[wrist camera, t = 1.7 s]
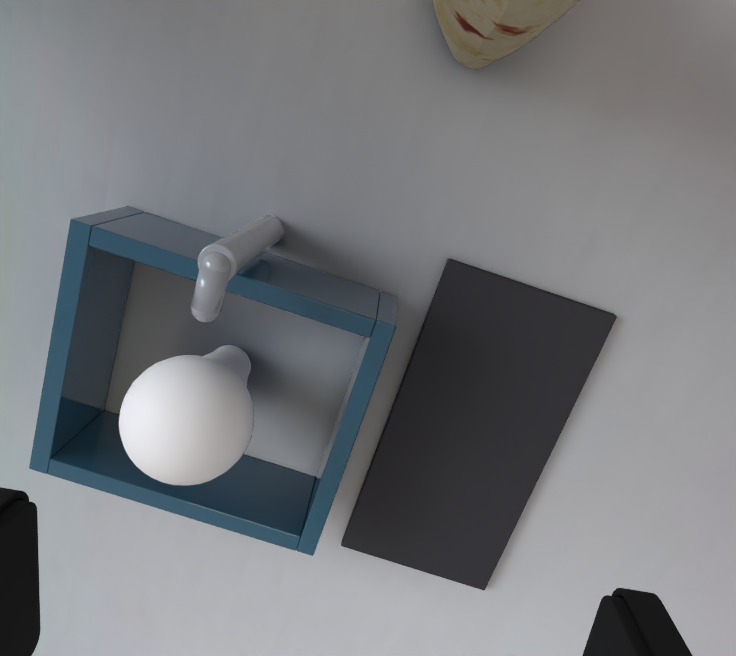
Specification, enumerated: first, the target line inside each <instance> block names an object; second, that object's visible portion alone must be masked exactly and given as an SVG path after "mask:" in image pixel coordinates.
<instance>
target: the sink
mask: <svg viewBox="0 0 736 656" xmlns="http://www.w3.org/2000/svg"><path fill="white" fill-rule="evenodd" d="M283 232H284V228H283V225H282V223H281V221H280V220H279V219H278V218H276V217H274V216H271V215H266V216H263V217H261V218H259V219H257V220H255V221H253V222H252V223H250V224H248V225H246V226H244V227H242V228H240V229H238V230H236V231H235V232H233V233H231V234H229V235H227V236H225V237H223V238H221V237H218V236H215V235H212V234H209V233H206V232H203V231H200V230H197V229H194V228H191V227H188V226H185V225H182V224H179V223H176V222H173V221H170V220H167V219H164V218H161V217H158V216H155V215H152V214H149V213H146V212H144V211H141V210H138V209H135V208H132V207H129V206H127V207H122V208H118V209H113V210H109V211H105V212H100V213H96V214H91V215H87V216H83V217H78V218H74V219H71V221H70V227H69V233H68V239H67V245H66V251H65V257H64V263H63V269H62V275H61V281H60V287H59V293H58V299H57V305H56V311H55V317H54V323H53V329H52V335H51V341H50V347H49V353H48V359H47V365H46V371H45V377H44V383H43V389H42V395H41V401H40V407H39V413H38V419H37V425H36V431H35V437H34V443H33V449H32V455H31V461H30V467H29V468H30V469H32V470H36V471H39V472H42V473H45V474H47V473H48V474H49V475H52V476H56V477H59V478H62V479H65V480H68V481H72V482H75V483H78V484H81V485H85V486H88V487H91V488H94V489H98V490H101V491H104V492H107V493H111V494H114V495H117V496H120V497H123V498H127V499H130V500H133V501H136V502H140V503H143V504H146V505H149V506H153V507H156V508H159V509H162V510H165V511H169V512H172V513H175V514H178V515H182V516H185V517H188V518H191V519H195V520H198V521H201V522H204V523H207V524H211V525H214V526H217V527H220V528H224V529H227V530H230V531H233V532H237V533H240V534H243V535H246V536H250V537H253V538H256V539H259V540H262V541H266V542H269V543H272V544H275V545H279V546H282V547H285V548H288V549H292V550H296V549H297V551H299V552H302V553H305V554H308V555H312V556H313V555H314V552H315V550H316V547H317V544H318V541H319V539H320V536H321V533H322V530H323V527H324V525H325V522H326V519H327V516H328V514H329V511H330V508H331V505H332V503H333V500H334V497H335V494H336V492H337V489H338V486H339V483H340V481H341V478H342V475H343V472H344V469H345V467H346V464H347V461H348V458H349V456H350V453H351V450H352V447H353V445H354V442H355V439H356V436H357V434H358V431H359V428H360V425H361V422H362V420H363V417H364V414H365V411H366V409H367V406H368V403H369V400H370V398H371V395H372V392H373V389H374V387H375V384H376V381H377V378H378V376H379V373H380V370H381V367H382V364H383V362H384V359H385V356H386V353H387V351H388V348H389V345H390V342H391V340H392V337H393V334H394V331H395V329H396V296H395V295H392V294H389V293H386V292H383V291H379V290H377V289H374V288H371V287H368V286H365V285H362V284H359V283H356V282H353V281H350V280H347V279H344V278H341V277H338V276H335V275H332V274H329V273H326V272H323V271H320V270H317V269H314V268H311V267H308V266H305V265H302V264H299V263H296V262H293V261H290V260H287V259H284V258H281V257H278V256H275V255H272V254H269V253H266V251H267V250H268V249H269V248H271V247H272V246H273V245H274V244H276V243H277V242H278V241H279V240H280V239H281V238H282V236H283ZM134 261H137V262H140V263H143V264H146V265H149V266H152V267H155V268H158V269H161V270H164V271H167V272H170V273H173V274H176V275H179V276H182V277H185V278H188V279H191V280H195V281H196V285H195V289H194V293H193V297H192V302H191V307H190V308H191V313H192V315H193V316H194V317H195V318H196V319H197V320H198V321H201V322H211V321H213V320H215V319H216V318H217V317H218V316H219V314H220V311H221V307H222V304H223V300H224V296H225V292H226V291H228V292H231V293H234V294H237V295H240V296H243V297H246V298H249V299H252V300H255V301H258V302H261V303H264V304H267V305H270V306H274V307H277V308H280V309H283V310H286V311H289V312H292V313H295V314H298V315H301V316H304V317H307V318H310V319H313V320H316V321H319V322H322V323H325V324H328V325H331V326H334V327H337V328H340V329H343V330H346V331H349V332H353V333H356V334H359V335H362V336H365V337H364V340H363V342H362V345H361V348H360V351H359V354H358V357H357V360H356V363H355V366H354V368H353V371H352V374H351V377H350V380H349V383H348V386H347V389H346V392H345V394H344V397H343V400H342V403H341V406H340V409H339V412H338V415H337V418H336V420H335V423H334V426H333V429H332V432H331V435H330V438H329V441H328V444H327V447H326V449H325V452H324V455H323V458H322V461H321V464H320V467H319V470H318V473H317V475H316V478H315V477H313V476H310V475H306V474H303V473H300V472H297V471H294V470H291V469H287V468H284V467H281V466H278V465H275V464H272V463H268V462H265V461H262V460H259V459H256V458H253V457H249V456H246V455H242V456H241V457H240V459H239V460H238V461H237V462H236V463H235V464H234V465H233V466H232V467H231V468H230V469H228V470H227V471H226V472H225V473H223V474H221V475H220V476H218V477H216V478H214V479H212V480H210V481H208V482H204V483H201V484H196V485H185V486H183V485H171V484H167V483H163V482H160V481H158V480H156V479H153V478H151V477H150V476H148V475H147V474H145V473H144V472H142V471H141V470H140V469H139V468H138V467H137V466H136V465H135V464H134V463H133V462H132V460H131V459H130V458H129V456H128V454H127V452H126V451H125V449H124V446H123V443H122V440H121V437H120V431H119V417H120V415H117V414H113V413H110V412H107V411H104V406H105V401H106V396H107V391H108V387H109V382H110V377H111V372H112V367H113V362H114V357H115V352H116V348H117V343H118V338H119V333H120V328H121V323H122V318H123V314H124V309H125V304H126V299H127V294H128V289H129V284H130V279H131V275H132V270H133V265H134Z"/></svg>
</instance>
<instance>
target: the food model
mask: <svg viewBox="0 0 736 656" xmlns="http://www.w3.org/2000/svg"><path fill="white" fill-rule="evenodd" d="M578 1H580V0H433V4H434V8H435V11H436V15H437V19H438V22H439V25H440V27H441V29H442V32H443V34H444V36H445V39H446V42H447V44H448V46H449V48H450V50H451V52H452V54H453V56H454V58H455V59H456V60H457V61H458V62H460V63H461V64H462V65H464V66H465V67H468V68H473V69H479V68H482V67H484V66H486V65H489V64H491V63H492V62H494V61H496V60H497V59H499V58H502V57H505V56H507V55H509V54H511V53H512V52H514V51H516V50H517V49H519V48H520V47H522V46H524V45H525V44H527V43H528V42H530V41H531V40H532V39H534V38H535V37H536V36H537V35H539V34H540V33H541V32H542V31H543V30H545V29H546V28H547V27H548V26H550V25H551V24H552V23H554V22H555V21H556V20H557V19H559V18H560V17H561V16H562V15H564V14H565V13H566V12H567V11H568V10H570V9H571V8H572V7H573V6H574V5H575V4H576V3H577V2H578Z"/></svg>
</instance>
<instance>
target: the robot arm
mask: <svg viewBox="0 0 736 656" xmlns="http://www.w3.org/2000/svg"><path fill="white" fill-rule="evenodd" d="M39 635H40V602H39V564H38V527H37V507H36V505H35V503H33V502H29V498H28V495H27V494H26V493H25V492H23V491H18V490H12V489H6V488H0V656H31V655H32V654H33V652H34V650H35V648H36V645H37V643H38V640H39ZM583 656H692V654H691V653H690V651H689V649H688V647H687V646H686V644H685V642H684V640H683V639H682V637H681V635H680V633H679V632H678V630H677V628H676V626H675V625H674V623H673V621H672V619H671V618H670V616H669V614H668V612H667V611H666V609H665V607H664V605H663V604H662V602H661V600H660V599H659V598H658V596H657V595H655V594H653V593H648V592H642V591H636V590H630V589H624V588H617V589H616V590H615V591H614V592H613V594H612V596H608V595H607V596H604V597H603V598H602V600H601V602H600V605H599V608H598V611H597V614H596V617H595V620H594V623H593V626H592V629H591V632H590V635H589V638H588V641H587V644H586V647H585V650H584V653H583Z"/></svg>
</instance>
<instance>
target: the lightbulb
mask: <svg viewBox="0 0 736 656" xmlns="http://www.w3.org/2000/svg"><path fill="white" fill-rule="evenodd" d="M250 371H251V362H250V359H249V357H248V355H247V354H246V353H245V352H244V351H243V350H242V349H240V348H238V347H236V346H232V345H225V346H221V347H219V348H217V349H216V350H215V351H213V352H212V353H209V354H206V355H204V356H198V355H181V356H174V357H171V358H168V359H166V360H163V361H160V362H157V363H155V364H154V365H152V366H151V367H149V368H147V369H146V370H145V371H144V372H143V373H142V374H141V375H140V376H139V377H138V378H137V379H136V380H135V381H134V382H133V383H132V385H131V386H130V388H129V390H128V391H127V393H126V395H125V397H124V400H123V403H122V406H121V410H120V417H119V431H120V437H121V440H122V443H123V446H124V449H125V451H126V452H127V454H128V456H129V458H130V459H131V460H132V462H133V463H134V464H135V465H136V466H137V467H138V468H139V469H140V470H141V471H142V472H144V473H145V474H147V475H148V476H150V477H151V478H153V479H156V480H158V481H160V482H163V483H167V484H171V485H183V486H185V485H196V484H201V483H204V482H208V481H210V480H212V479H214V478H216V477H218V476H220V475H221V474H223V473H225V472H226V471H227V470H228V469H230V468H231V467H232V466H233V465H234V464H235V463H236V462H237V461H238V460H239V459H240V457H241V456H242V455H243V453H244V452H245V450H246V448H247V446H248V444H249V441H250V439H251V437H252V432H253V427H254V407H253V403H252V399H251V396H250V394H249V392H248V390H247V379H248V376H249V374H250Z"/></svg>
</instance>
